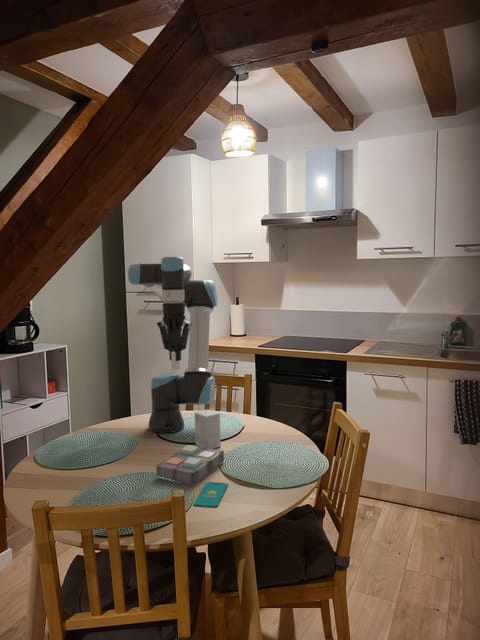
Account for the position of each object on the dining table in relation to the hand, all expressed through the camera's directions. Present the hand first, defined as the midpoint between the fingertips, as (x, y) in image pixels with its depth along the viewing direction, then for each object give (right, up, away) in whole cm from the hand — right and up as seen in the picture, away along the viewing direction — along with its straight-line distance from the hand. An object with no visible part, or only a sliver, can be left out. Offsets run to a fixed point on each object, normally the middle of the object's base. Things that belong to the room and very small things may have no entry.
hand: (175, 369), depth 167 cm
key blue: (+7, -31, -12) cm, 34 cm away
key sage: (+5, -30, -1) cm, 30 cm away
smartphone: (+14, -35, -24) cm, 45 cm away
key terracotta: (+1, -32, -9) cm, 33 cm away
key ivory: (+11, -31, -3) cm, 33 cm away
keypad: (+6, -33, -6) cm, 34 cm away
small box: (+10, -31, +16) cm, 36 cm away
